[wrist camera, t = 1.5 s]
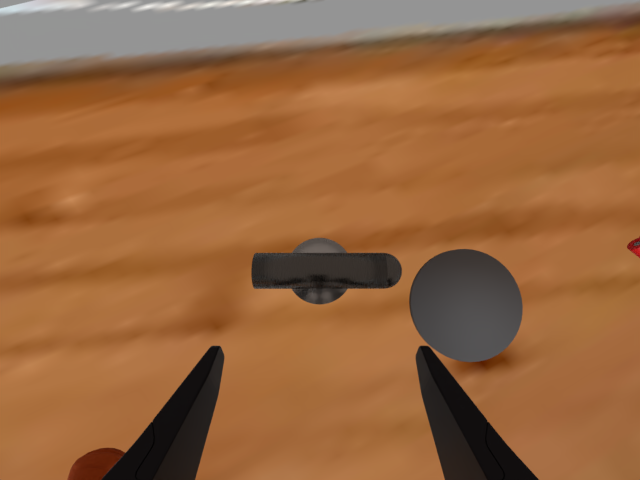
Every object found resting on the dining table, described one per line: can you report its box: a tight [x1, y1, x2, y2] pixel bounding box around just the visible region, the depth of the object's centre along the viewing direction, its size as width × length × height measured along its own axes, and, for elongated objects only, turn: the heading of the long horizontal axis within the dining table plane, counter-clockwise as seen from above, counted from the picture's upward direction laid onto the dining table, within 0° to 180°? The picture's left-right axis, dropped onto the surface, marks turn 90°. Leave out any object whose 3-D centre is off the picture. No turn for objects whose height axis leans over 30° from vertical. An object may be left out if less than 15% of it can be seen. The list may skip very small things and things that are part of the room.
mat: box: [409, 249, 523, 362], centre depth 23 cm, size 9×9×1 cm
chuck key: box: [251, 238, 402, 305], centre depth 17 cm, size 4×6×14 cm
